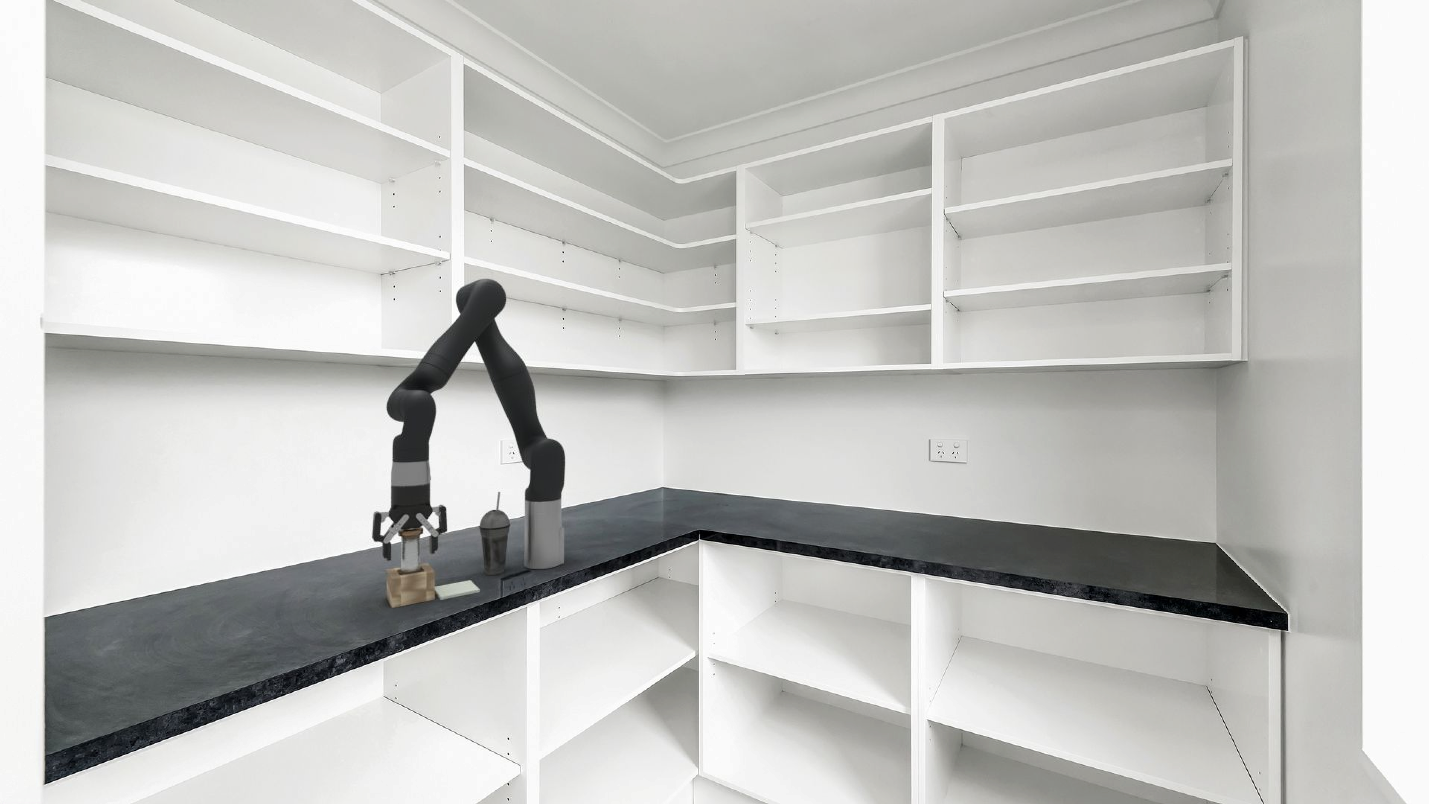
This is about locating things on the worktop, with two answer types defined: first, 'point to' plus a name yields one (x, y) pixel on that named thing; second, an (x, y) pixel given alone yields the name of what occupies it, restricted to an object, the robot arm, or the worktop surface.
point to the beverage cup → (494, 540)
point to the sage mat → (456, 589)
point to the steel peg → (410, 550)
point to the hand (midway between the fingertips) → (410, 556)
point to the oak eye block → (410, 586)
